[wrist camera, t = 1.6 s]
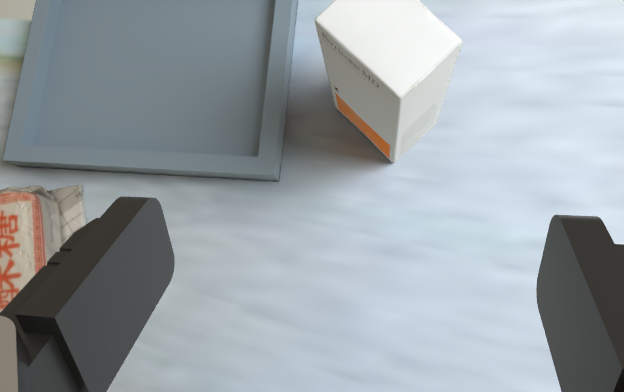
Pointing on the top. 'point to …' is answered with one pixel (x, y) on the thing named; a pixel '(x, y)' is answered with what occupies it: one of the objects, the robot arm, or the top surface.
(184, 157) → the tray
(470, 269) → the top surface
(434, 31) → the skincare box
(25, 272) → the packaged product
